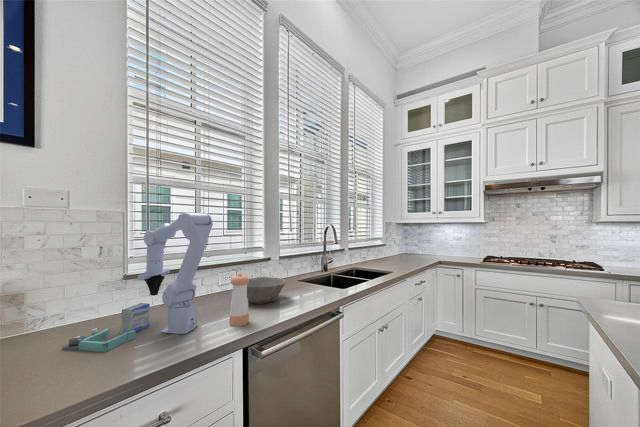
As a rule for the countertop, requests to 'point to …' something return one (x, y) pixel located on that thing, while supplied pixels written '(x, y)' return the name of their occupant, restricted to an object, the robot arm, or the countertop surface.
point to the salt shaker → (239, 301)
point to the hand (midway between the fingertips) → (154, 295)
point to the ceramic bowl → (264, 289)
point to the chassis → (98, 341)
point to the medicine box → (135, 317)
